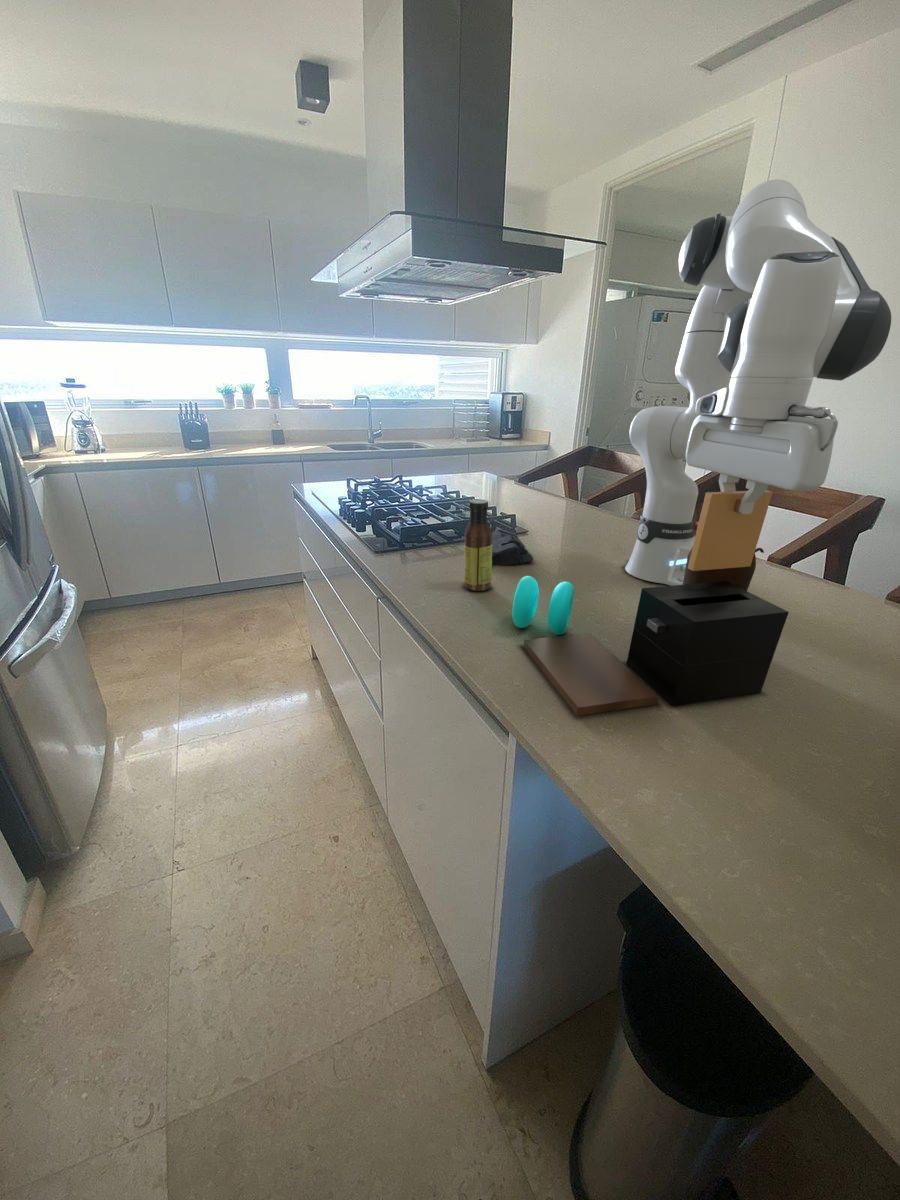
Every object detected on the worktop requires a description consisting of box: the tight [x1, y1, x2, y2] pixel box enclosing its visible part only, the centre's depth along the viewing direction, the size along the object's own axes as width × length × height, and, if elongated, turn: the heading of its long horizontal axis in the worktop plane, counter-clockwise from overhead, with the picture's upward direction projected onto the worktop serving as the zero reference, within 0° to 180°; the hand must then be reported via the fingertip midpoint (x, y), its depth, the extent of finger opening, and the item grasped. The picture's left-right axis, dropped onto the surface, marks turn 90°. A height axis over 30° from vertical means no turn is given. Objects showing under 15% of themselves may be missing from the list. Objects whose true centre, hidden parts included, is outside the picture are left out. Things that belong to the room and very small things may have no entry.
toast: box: [688, 489, 773, 571], centre depth 69 cm, size 10×1×11 cm, turn 105°
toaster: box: [625, 581, 790, 707], centre depth 76 cm, size 18×12×14 cm
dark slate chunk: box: [492, 529, 534, 566], centre depth 134 cm, size 15×22×5 cm
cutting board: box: [523, 632, 659, 717], centre depth 79 cm, size 13×20×2 cm, turn 14°
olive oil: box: [683, 547, 757, 592], centre depth 86 cm, size 11×11×25 cm
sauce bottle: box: [463, 498, 493, 592], centre depth 107 cm, size 7×6×20 cm
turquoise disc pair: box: [511, 575, 575, 636], centre depth 91 cm, size 10×10×10 cm
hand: (734, 510), depth 67 cm, fingers closed on toast, 1 cm apart
